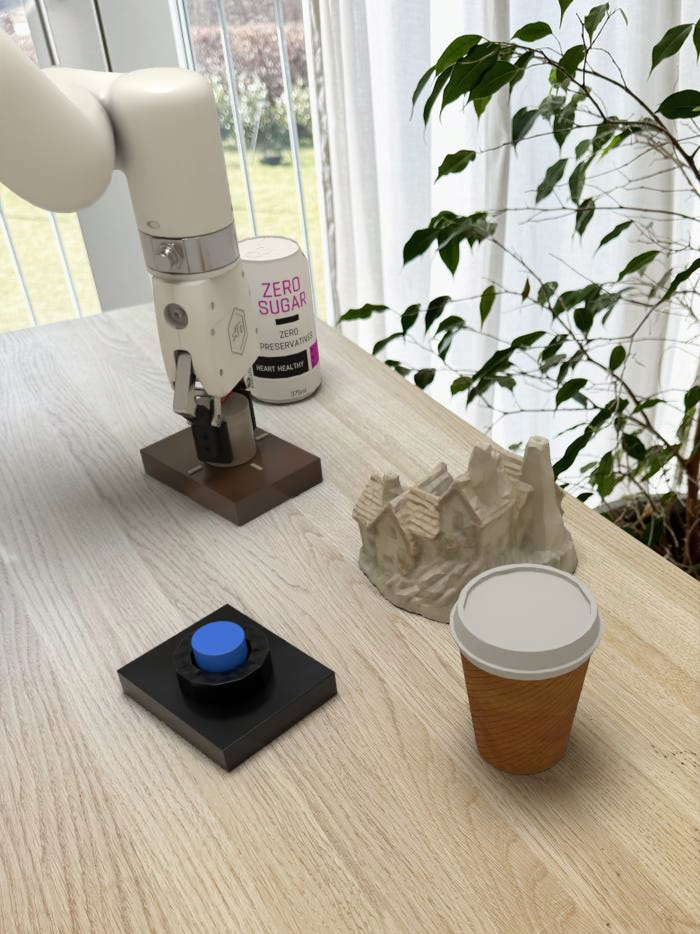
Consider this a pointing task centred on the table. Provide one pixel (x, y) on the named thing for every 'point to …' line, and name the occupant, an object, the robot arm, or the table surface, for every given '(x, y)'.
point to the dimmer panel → (234, 474)
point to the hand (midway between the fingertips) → (228, 443)
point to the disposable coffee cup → (524, 660)
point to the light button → (219, 646)
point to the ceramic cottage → (461, 526)
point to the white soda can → (281, 319)
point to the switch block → (229, 690)
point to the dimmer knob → (236, 427)
